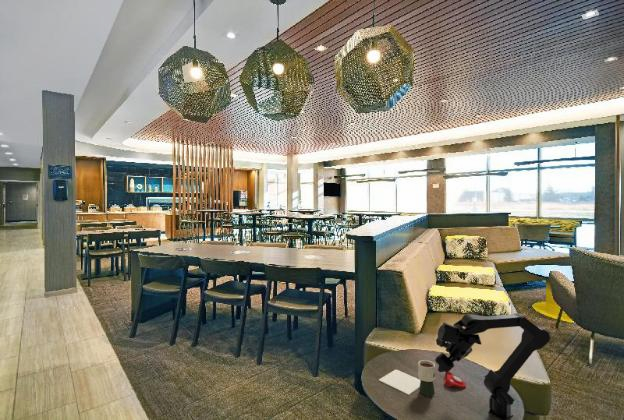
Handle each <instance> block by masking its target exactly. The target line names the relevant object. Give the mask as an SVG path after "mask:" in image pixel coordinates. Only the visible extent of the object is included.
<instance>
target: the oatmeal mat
mask: <svg viewBox="0 0 624 420" xmlns="http://www.w3.org/2000/svg"><path fill="white" fill-rule="evenodd" d="M420 380H421V379H419V378H417V377H415V376H412V375H410V374H407V372H403V371H401V370H399V369H394V370H393V371H391V372H389V373H387V374H385V375H384V376H383V377H381V378H379V379H378V381H379V382H381V383H383V384H385V385H387V386H389V387H390V388H391V387H392V388H394V390H395V389H396V391H400V392H401V393H403V394H405V395H408V396H410V395H411V394H413V393H414V392H416V391H417V390H418V389H419V388H420Z"/></svg>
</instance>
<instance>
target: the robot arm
mask: <svg viewBox="0 0 624 420" xmlns="http://www.w3.org/2000/svg"><path fill="white" fill-rule="evenodd" d="M514 327H519V328H521V329H522V330H523V331H522V332H521V338H520V339H521V340H520V343H519V344H518V345H517V346H516V348H515V349H514V350H512V352H511V354H509V356H508V357H507V359H506V360H505V361H504V362H503V364H502V365H501V366H500V368H499V369H497V370H492V369H490V370H489V371H488V373H486V375H484V380H483V383H484V387H485V388H486V389H487V390H488V392H489V393H490V394H491V395H490V398H489V399H488V403H489V404H488V405H489V406H488V413H489V414H491V415H493V416H495V417H497V418H499V419H500V420H508V419H510V418H512V416H514V414H513V412H511V411H512V409H511V408H512V405H513V404H514V402H515V399H514V398H513V397H512V396H511V394H509V391H510V389H511V383H512V382H511V381H512V379H513V378H514V377H515V376H516V375H517V374H518V372H519V371H520V370H521V368H522V367H523V365H525V363H526V361H527V360H528V359H529V358H530V357H531V355H532V354H533V353H534V352H535V351H538V350H541V349H543V348H544V347H546V346H547V345H548V344H549V343H550V340H551V336H550V333H549V332H548V331H547V330H546V329H544V328H542V327H541V326H539V325H538V324H535V323H533V322H532V321H530V320H529V319H528V318H527V317H526V316H524V315H522V314H521V313H519V312H518V313H516V312H515V313H513V314H501V315H498V314H497V315H488V316H487V315H486V316H485V315H478V314H472V313H465V314H463V316H462V318H461V319H459V320H458V321H457V322H455V323H453V325H452V324H450V323H447V322H443V323H442V325H440V327H439V328H438V330H437V338H436V339H435V342H436V346H439V347H440V348H445V351H446V352H447V353H448V354H449V356H447V355H446V354H445V353H440V354H439V355H437V356H436V358H435V359H434V363H435V362H436V364H437V365H438V369H437V371H438V372H439V373H446V372H447V373H448V372H449V371H452V370H453V368H454V367H455V364H454V362H460V361H461V360H462V359H465V358H467V356H469V355H470V354H471V353H472V352H473V348H472V347H473V346H474V345H475V344H477V345H482V340H481V337H480V335H479V334H481V333H485V332H487V331H488V330H490V329H502V328H503V329H504V328H514Z"/></svg>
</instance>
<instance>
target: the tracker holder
mask: <svg viewBox="0 0 624 420" xmlns="http://www.w3.org/2000/svg"><path fill="white" fill-rule="evenodd" d="M444 373H445V376H444V383H443V384H444V385H445V386H446V387H448V388H450V387H457V388H460V389H466V385H467V384H466V382H465V381H464V380H463V379H462V378H460V377H458V376H457V375H453V372H452V370H450V371H449V372H448V373H447V372H444Z"/></svg>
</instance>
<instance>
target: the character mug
mask: <svg viewBox="0 0 624 420" xmlns="http://www.w3.org/2000/svg"><path fill="white" fill-rule="evenodd" d="M417 363H418V364H417V371H418V372H417V373H418V374H417V376H418V379H419V380H420V388H418V389H419V393H420V394H421V395H423V396H428V397H429V396H430V397H433V396H434V395H435V394H436V393H435V386H434V381H435V380H436V364H435V362H433V361H431V360H426V359H423V360H419V361H418V362H417Z"/></svg>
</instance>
